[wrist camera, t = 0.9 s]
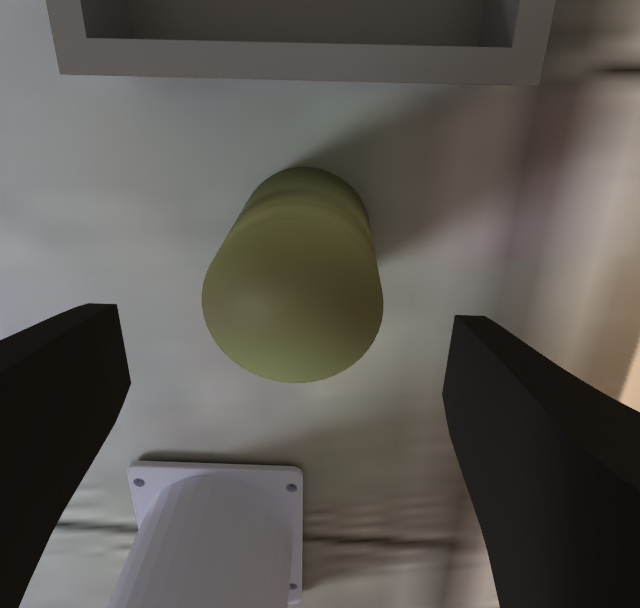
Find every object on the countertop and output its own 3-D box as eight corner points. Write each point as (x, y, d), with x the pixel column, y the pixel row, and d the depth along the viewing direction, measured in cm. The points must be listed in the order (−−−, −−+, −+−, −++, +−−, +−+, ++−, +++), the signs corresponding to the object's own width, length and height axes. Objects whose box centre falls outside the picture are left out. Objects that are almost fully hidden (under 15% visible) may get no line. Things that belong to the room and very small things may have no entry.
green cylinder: (365, 291, 19) (376, 385, 14) (244, 288, 19) (209, 380, 14) (373, 169, 17) (390, 223, 12) (238, 165, 17) (193, 217, 12)
